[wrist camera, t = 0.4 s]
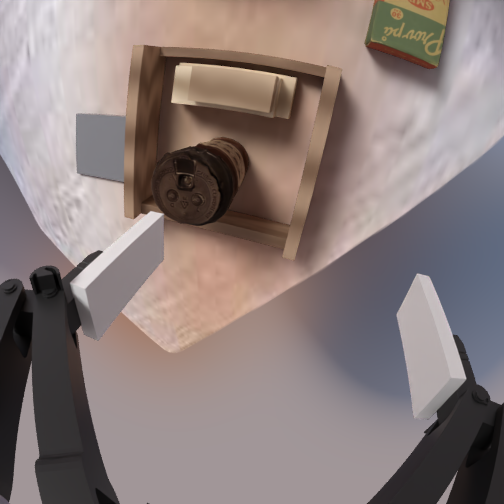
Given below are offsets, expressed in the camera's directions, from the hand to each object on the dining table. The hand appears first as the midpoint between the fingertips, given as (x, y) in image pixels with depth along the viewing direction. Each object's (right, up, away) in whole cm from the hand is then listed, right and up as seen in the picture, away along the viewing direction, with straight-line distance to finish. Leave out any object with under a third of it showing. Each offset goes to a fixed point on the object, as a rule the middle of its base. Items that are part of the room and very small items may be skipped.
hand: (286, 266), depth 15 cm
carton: (+17, +30, +9) cm, 35 cm away
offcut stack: (-3, +20, +19) cm, 28 cm away
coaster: (-24, +17, +26) cm, 40 cm away
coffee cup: (-5, +13, +24) cm, 28 cm away
